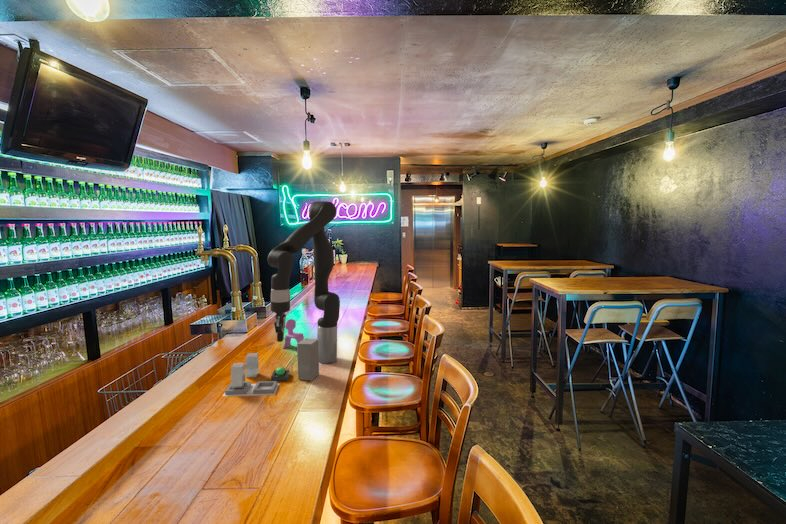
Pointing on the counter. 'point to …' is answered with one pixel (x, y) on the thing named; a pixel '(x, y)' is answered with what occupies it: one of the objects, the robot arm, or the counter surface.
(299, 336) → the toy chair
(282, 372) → the button
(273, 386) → the grey socket board
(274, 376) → the button housing
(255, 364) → the block
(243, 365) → the block
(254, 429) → the counter surface
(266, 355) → the counter surface
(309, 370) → the skincare box
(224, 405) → the counter surface
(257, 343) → the counter surface
